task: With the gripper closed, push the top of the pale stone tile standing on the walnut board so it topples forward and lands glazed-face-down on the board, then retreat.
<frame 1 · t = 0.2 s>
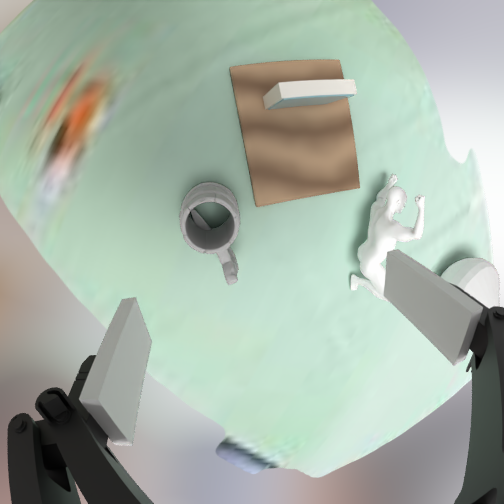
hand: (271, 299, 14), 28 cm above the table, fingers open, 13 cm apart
person figurine: (368, 233, 45), on the table
mug: (215, 220, 40), on the table
vase: (448, 285, 52), on the table
tile: (295, 99, 35), point 1 cm above the table, touching board
board: (298, 127, 37), on the table
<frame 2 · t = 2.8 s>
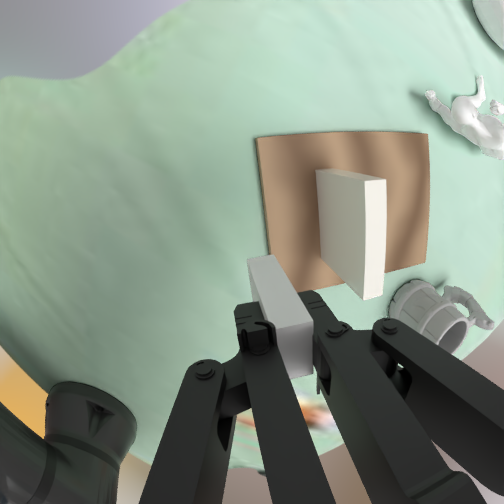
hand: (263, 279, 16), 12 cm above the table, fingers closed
person figurine: (461, 124, 28), on the table
mug: (418, 295, 35), on the table
vase: (488, 20, 21), on the table
tile: (327, 214, 27), point 1 cm above the table, touching board
board: (356, 207, 29), on the table
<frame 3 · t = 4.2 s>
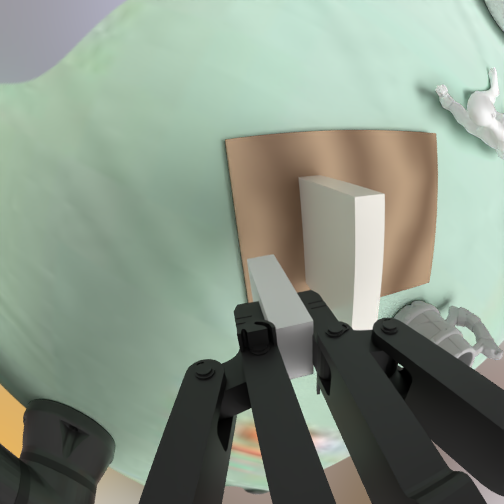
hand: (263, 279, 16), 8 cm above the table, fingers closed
person figurine: (474, 123, 23), on the table
mug: (420, 317, 31), on the table
vase: (498, 11, 17), on the table
tile: (313, 231, 23), point 1 cm above the table, touching board
board: (349, 220, 24), on the table
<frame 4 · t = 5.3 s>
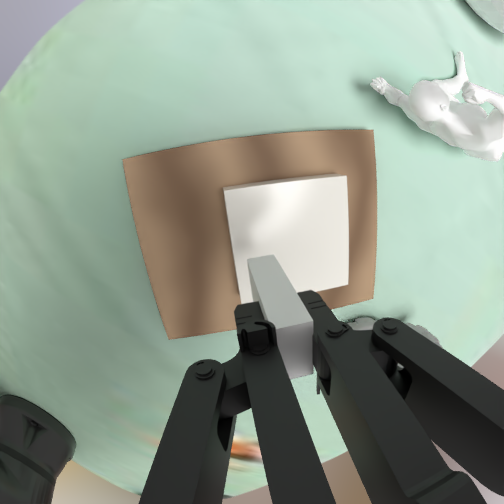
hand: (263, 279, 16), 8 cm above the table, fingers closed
person figurine: (435, 117, 22), on the table
mug: (369, 334, 30), on the table
tile: (232, 248, 21), point 2 cm above the table, tilted 90°, touching board
board: (264, 233, 24), on the table
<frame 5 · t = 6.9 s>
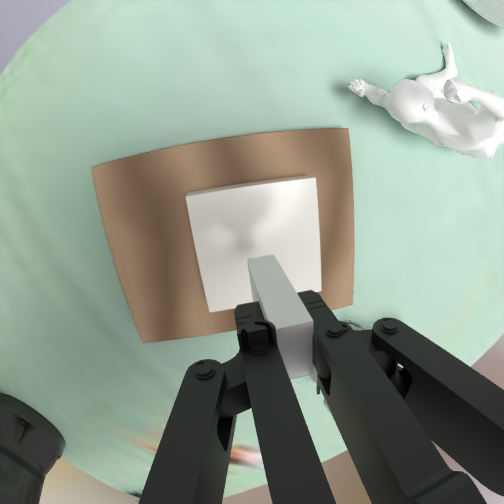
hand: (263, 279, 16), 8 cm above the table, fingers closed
person figurine: (424, 115, 22), on the table
tile: (197, 254, 21), point 2 cm above the table, tilted 90°, touching board
board: (234, 238, 23), on the table
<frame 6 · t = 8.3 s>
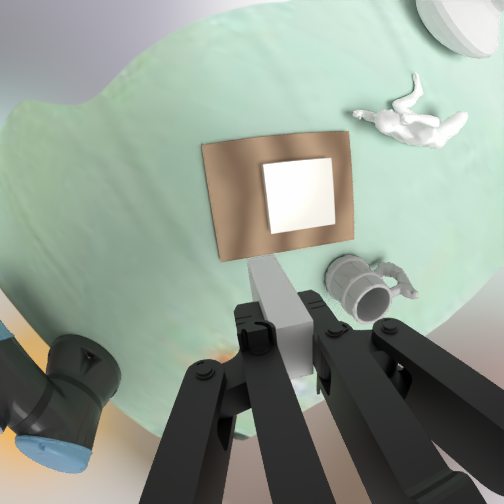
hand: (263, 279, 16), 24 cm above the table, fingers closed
person figurine: (399, 123, 37), on the table
mug: (355, 270, 45), on the table
vase: (436, 21, 30), on the table
tile: (266, 198, 36), point 2 cm above the table, tilted 90°, touching board
board: (283, 193, 39), on the table
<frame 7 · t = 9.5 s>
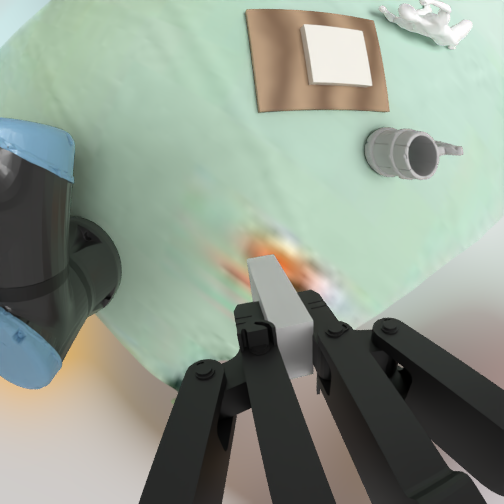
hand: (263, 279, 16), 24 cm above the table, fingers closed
person figurine: (416, 30, 32), on the table
mug: (392, 149, 39), on the table
tile: (306, 53, 30), point 2 cm above the table, tilted 90°, touching board
board: (320, 59, 33), on the table
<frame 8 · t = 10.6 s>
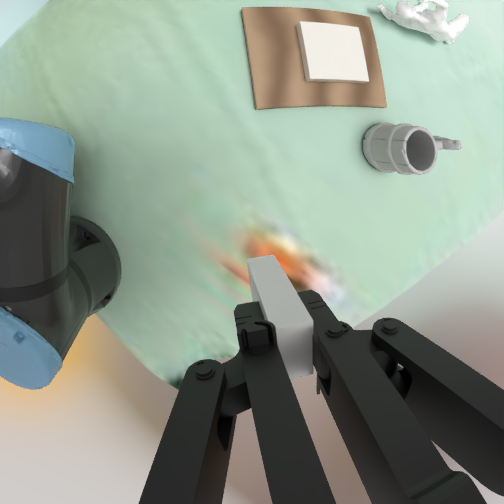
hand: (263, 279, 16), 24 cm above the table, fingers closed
person figurine: (414, 26, 32), on the table
mug: (390, 144, 39), on the table
tile: (303, 50, 30), point 2 cm above the table, tilted 90°, touching board
board: (317, 55, 33), on the table
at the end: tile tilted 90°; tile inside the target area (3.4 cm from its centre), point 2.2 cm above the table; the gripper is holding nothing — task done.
